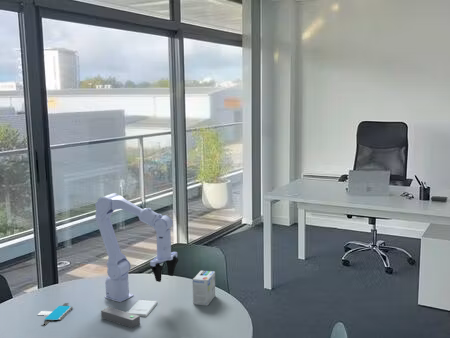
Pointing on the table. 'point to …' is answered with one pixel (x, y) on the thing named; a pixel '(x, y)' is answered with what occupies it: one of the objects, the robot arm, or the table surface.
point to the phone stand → (56, 313)
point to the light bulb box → (203, 287)
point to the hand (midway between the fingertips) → (164, 278)
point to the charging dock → (120, 317)
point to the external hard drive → (143, 307)
